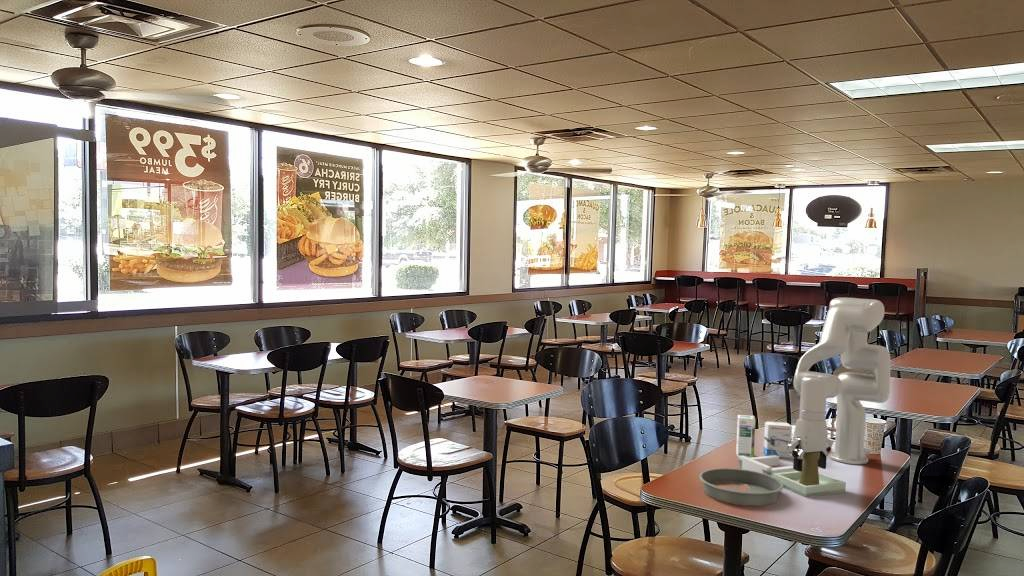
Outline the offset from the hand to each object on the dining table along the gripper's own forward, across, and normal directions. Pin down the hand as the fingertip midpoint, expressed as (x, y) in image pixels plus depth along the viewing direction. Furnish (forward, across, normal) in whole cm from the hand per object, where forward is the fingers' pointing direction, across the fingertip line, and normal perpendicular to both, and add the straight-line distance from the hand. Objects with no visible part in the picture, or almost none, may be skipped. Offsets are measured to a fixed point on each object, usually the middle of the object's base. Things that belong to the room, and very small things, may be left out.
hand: (809, 469), depth 231 cm
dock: (+6, -1, -17) cm, 18 cm away
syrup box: (+6, -4, -35) cm, 36 cm away
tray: (+6, 0, 0) cm, 6 cm away
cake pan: (+6, +25, -2) cm, 26 cm away
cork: (+5, 0, 0) cm, 5 cm away
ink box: (+6, -16, -32) cm, 36 cm away
